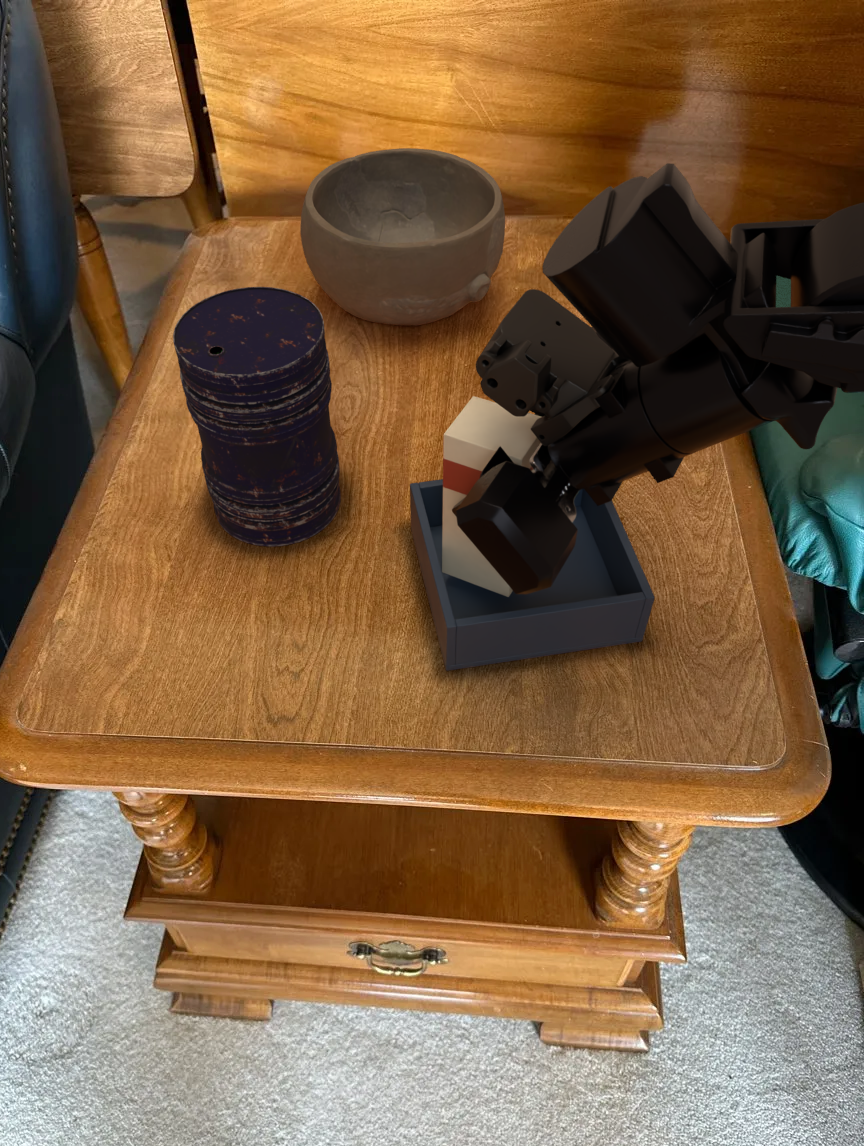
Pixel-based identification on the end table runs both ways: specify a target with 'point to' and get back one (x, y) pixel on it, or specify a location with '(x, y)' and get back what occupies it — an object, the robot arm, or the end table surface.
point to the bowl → (403, 234)
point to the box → (543, 618)
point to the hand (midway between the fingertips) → (472, 493)
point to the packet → (462, 466)
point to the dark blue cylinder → (262, 412)
